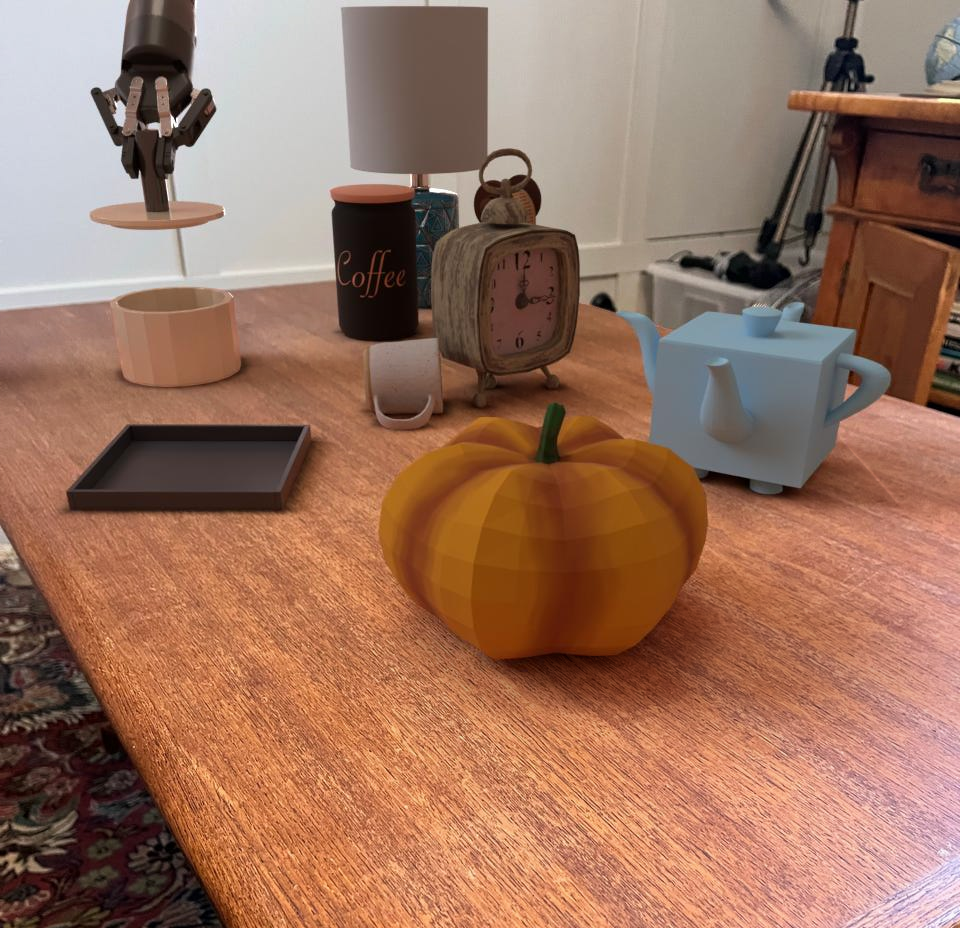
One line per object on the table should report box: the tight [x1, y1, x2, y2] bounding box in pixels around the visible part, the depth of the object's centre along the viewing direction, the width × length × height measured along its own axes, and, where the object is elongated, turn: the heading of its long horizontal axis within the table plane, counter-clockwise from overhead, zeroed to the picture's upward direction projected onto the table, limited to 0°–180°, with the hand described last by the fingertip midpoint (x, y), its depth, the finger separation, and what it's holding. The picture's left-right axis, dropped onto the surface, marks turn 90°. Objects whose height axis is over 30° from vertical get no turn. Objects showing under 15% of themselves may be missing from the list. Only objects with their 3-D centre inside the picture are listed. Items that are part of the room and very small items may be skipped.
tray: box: [65, 423, 312, 512], centre depth 93 cm, size 18×17×2 cm
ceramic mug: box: [362, 337, 444, 431], centre depth 105 cm, size 11×8×8 cm
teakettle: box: [615, 301, 892, 495], centre depth 91 cm, size 19×19×15 cm
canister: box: [109, 286, 242, 388], centre depth 119 cm, size 14×14×8 cm
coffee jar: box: [329, 183, 420, 342], centre depth 132 cm, size 11×11×18 cm
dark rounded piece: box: [473, 173, 542, 225], centre depth 127 cm, size 15×15×20 cm
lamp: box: [340, 5, 489, 309], centre depth 142 cm, size 19×19×38 cm
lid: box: [89, 128, 226, 231], centre depth 110 cm, size 14×14×9 cm
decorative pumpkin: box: [377, 401, 709, 660], centre depth 67 cm, size 20×22×15 cm
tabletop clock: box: [431, 147, 581, 409], centre depth 108 cm, size 14×9×25 cm, turn 129°
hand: (147, 173), depth 108 cm, fingers closed on lid, 2 cm apart
